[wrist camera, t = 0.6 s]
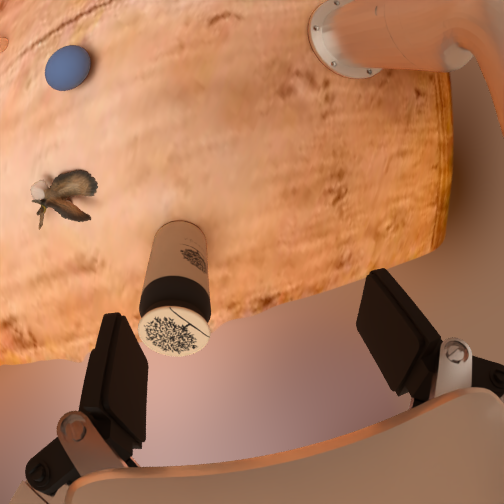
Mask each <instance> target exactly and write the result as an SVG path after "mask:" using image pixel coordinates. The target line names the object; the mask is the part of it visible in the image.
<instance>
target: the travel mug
mask: <svg viewBox="0 0 504 504" xmlns="http://www.w3.org/2000/svg"><path fill="white" fill-rule="evenodd" d="M139 311H140V315H141V320H140V322H139V324H138V334H139V337H140V339H141V340H142V342H143V343H144V344H145V345H146V346H147V347H149V348H150V349H151V350H153V351H155V352H157V353H159V354H163V355H167V356H186V355H190V354H194V353H196V352H198V351H200V350H201V349H202V348H204V347H205V345H206V344H207V343H208V341H209V339H210V328H209V325H208V322H209V320H210V316H211V306H210V293H209V279H208V264H207V247H206V239H205V236H204V234H203V233H202V231H201V230H200V229H199V228H198V227H196V226H195V225H193V224H191V223H188V222H184V221H175V222H170V223H168V224H166V225H164V226H163V227H161V228H160V229H159V230H158V232H157V233H156V235H155V238H154V242H153V246H152V250H151V254H150V258H149V263H148V267H147V271H146V276H145V281H144V285H143V290H142V295H141V300H140V306H139Z"/></svg>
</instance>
